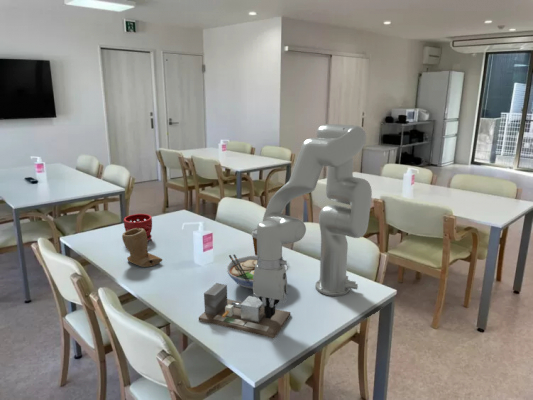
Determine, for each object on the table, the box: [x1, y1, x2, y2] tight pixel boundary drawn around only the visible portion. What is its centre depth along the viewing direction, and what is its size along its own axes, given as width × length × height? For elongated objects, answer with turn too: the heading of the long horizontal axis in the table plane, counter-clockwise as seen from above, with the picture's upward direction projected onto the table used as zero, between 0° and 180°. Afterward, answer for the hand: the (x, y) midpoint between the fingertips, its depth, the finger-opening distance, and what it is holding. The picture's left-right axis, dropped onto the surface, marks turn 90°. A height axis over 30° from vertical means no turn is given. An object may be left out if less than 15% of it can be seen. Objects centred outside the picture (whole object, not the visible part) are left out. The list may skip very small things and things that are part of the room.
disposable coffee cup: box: [251, 228, 257, 256], centre depth 180 cm, size 10×10×12 cm
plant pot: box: [123, 213, 153, 242], centre depth 200 cm, size 13×13×12 cm
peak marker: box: [222, 304, 234, 317], centre depth 130 cm, size 2×5×3 cm, turn 157°
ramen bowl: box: [226, 254, 288, 290], centre depth 154 cm, size 25×23×8 cm
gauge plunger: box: [231, 295, 265, 323], centre depth 131 cm, size 10×6×5 cm, turn 67°
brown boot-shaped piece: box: [121, 228, 163, 268], centre depth 173 cm, size 15×12×15 cm
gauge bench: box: [198, 282, 291, 339], centre depth 131 cm, size 26×14×8 cm, turn 67°
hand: (269, 316), depth 128 cm, fingers closed
